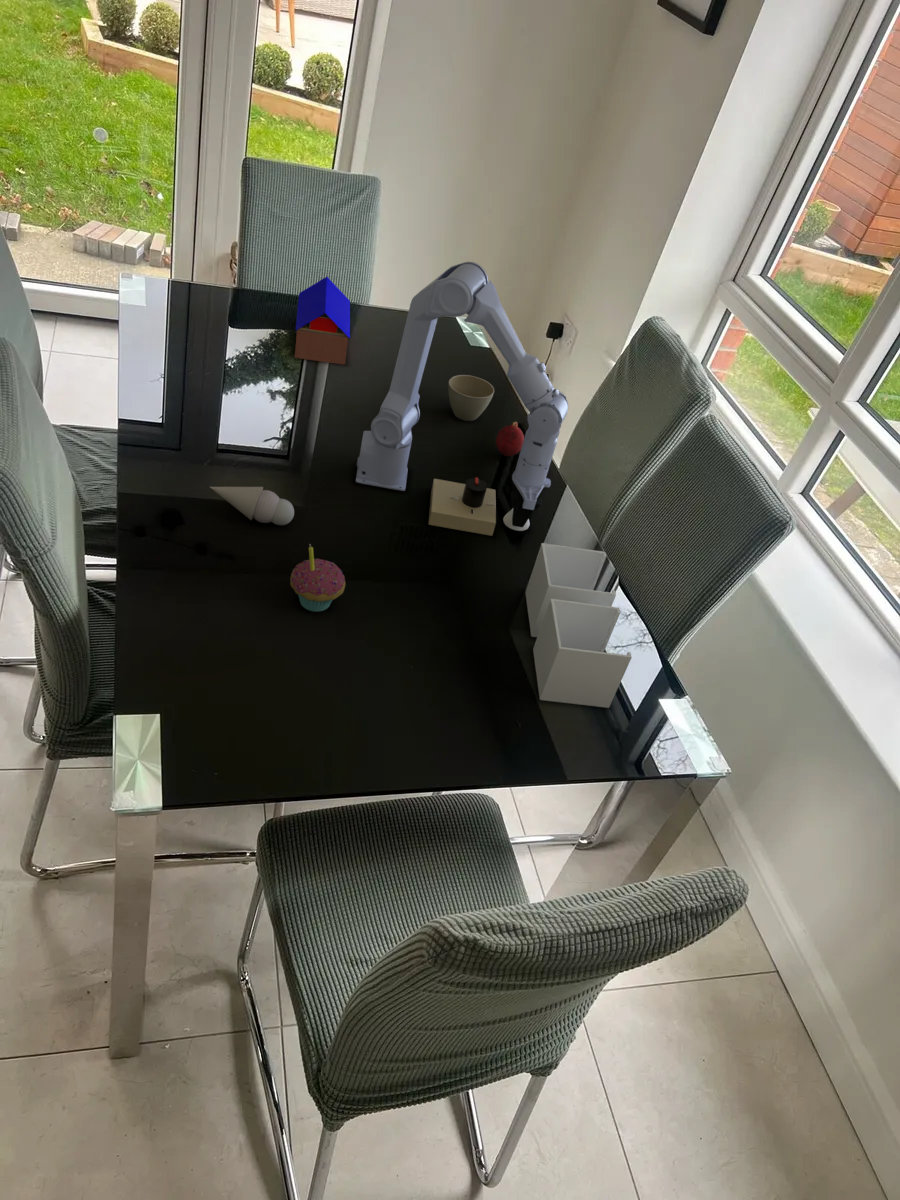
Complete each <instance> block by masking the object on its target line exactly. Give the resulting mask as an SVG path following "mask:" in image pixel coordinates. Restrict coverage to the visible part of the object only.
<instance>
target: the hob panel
mask: <svg viewBox="0 0 900 1200" xmlns="http://www.w3.org/2000/svg"><path fill="white" fill-rule="evenodd" d="M465 484H466V483H462V482H461V483H460V482H456V481H455V482H454V481H449V480H444V479H439V478H433V482H432V484H431V485H432V486H431V491H430V501H429V513H428V523H427V524H428V525H430V526H434V527H440V528H444V529H445V528H446V529H450V530H456V531H462V532H468V533H473V534H479V535H485V536H491V537H493V535H494V532H495V528H496V524H497V506H496V505H497V503H496V502H497V500H496V499H497V497H496V494H497V493H496V491H497V490H496V489H493V488H488V487H487V490H486V493H485V497H484V501H483V505H482V506H481V507H478V508H473V507H469V506H467V505H465V504H464V503H463V502H462V496H463V492H464V488H465Z"/></svg>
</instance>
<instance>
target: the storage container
mask: <svg viewBox="0 0 900 1200" xmlns="http://www.w3.org/2000/svg"><path fill="white" fill-rule="evenodd" d="M606 559H607V553H606V551H601V550H594V549H587V548H580V547H573V546H567V545H558V544H552V543H546V542H541V544H540V546H539V550H538V553H537V556H536V560H535V562H534V565H533V568H532V571H531V574H530V578H529V580H528V584H527V587H526V589H525V599H526V608H527V614H528V616H527V617H528V622H529V629H530V637H532V638H536V639H535V642H534V646H533V647H532V648H533V649H532V653H533V659H534V667H535V674H536V681H537V683H536V684H537V689H538V696H539V697H538V698H539V701H547V702H555V703H564V704H573V705H580V706H582V705H583V706H589V707H598V708H607V709H610V707H611V704H612V702H613V700H614V698H615V696H616V693H617V691H618V689H619V686H620V684H621V682H622V680H623V678H624V676H625V674H626V671H627V669H628V666H629V664H630V663H631V660H632V653H631V651H627V652H626V654H621V653H612V652H605V650H606V648H607V646H608V643H609V641H610V638H611V636H612V634H613V631H614V629H615V627H616V624H617V622H618V619H619V617H620V614H621V608H620V607H619V606H618V607H617V606H613V604H614V602H615V599H616V596H617V593H616V590H615V589H612V590H611V592H610V591H601V590H595V587H596V584H597V582H598V579H599V577H600V574H601V571H602V569H603V566H604V564H605V561H606Z"/></svg>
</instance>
